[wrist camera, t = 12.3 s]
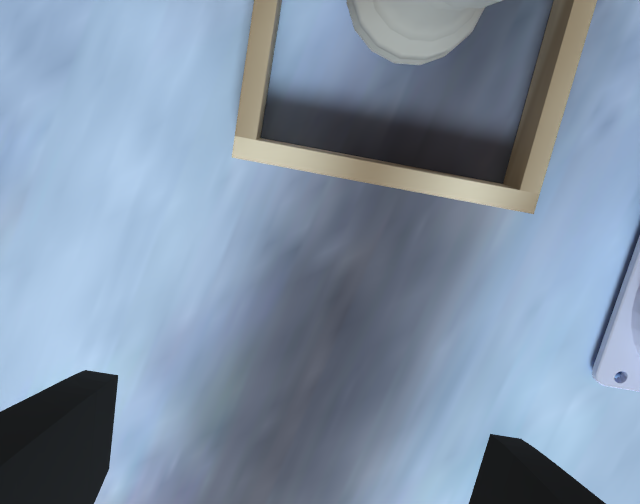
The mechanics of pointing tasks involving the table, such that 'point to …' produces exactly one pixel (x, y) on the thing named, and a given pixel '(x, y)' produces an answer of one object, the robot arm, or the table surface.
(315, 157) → the beige square frame
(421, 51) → the rook chess piece
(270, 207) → the table surface
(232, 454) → the table surface
